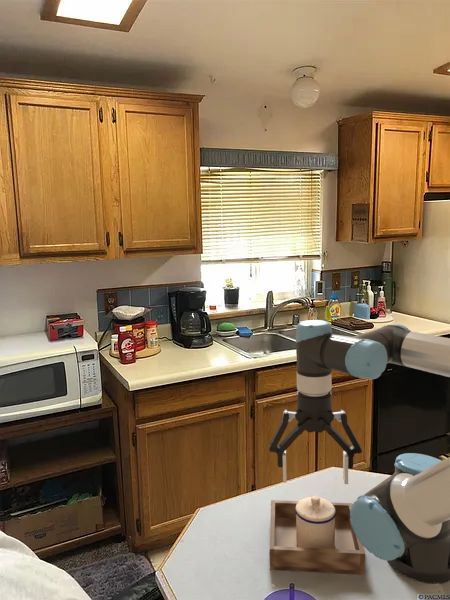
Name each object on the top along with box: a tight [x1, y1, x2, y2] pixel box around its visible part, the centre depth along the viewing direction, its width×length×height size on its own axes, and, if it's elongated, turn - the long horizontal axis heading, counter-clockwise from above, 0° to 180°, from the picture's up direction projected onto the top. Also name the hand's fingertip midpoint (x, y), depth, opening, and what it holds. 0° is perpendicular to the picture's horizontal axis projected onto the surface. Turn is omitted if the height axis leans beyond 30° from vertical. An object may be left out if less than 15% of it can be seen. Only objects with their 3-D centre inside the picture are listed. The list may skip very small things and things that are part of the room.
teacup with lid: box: [295, 495, 336, 549], centre depth 108 cm, size 12×9×12 cm
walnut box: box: [269, 499, 366, 576], centre depth 109 cm, size 20×18×5 cm
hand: (314, 480), depth 107 cm, fingers open, 13 cm apart
